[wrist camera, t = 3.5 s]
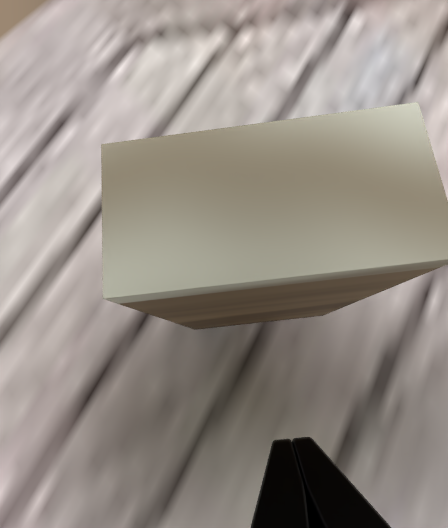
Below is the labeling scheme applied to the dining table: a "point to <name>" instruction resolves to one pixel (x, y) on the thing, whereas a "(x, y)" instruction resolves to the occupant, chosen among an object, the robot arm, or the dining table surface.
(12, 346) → the dining table surface
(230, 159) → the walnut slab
